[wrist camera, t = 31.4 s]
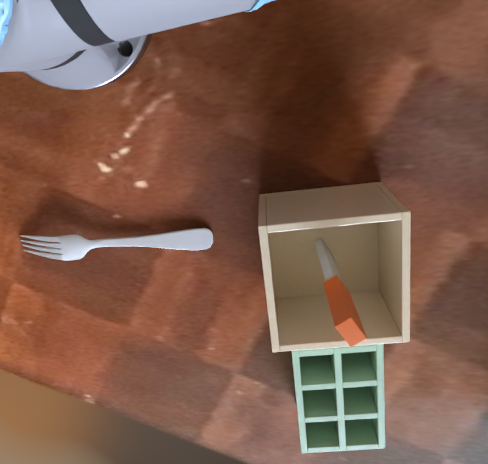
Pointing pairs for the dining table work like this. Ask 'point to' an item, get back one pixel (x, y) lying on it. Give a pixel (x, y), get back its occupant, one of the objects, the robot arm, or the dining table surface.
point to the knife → (339, 298)
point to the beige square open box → (347, 259)
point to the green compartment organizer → (340, 398)
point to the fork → (120, 243)
